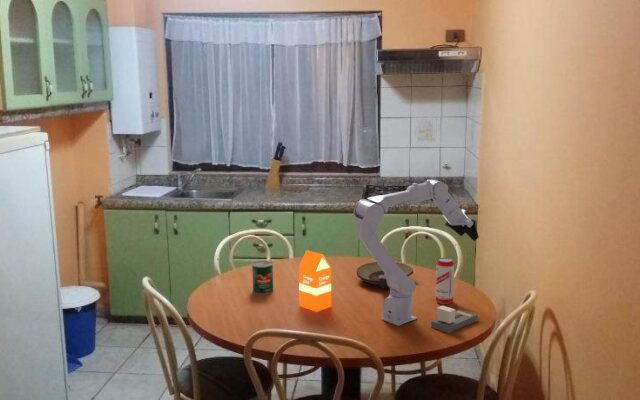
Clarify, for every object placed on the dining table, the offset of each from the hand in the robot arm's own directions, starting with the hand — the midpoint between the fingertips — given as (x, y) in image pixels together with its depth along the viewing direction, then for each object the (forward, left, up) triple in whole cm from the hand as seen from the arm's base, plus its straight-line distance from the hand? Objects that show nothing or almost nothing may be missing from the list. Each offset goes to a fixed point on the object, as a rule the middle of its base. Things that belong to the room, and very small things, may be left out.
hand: (469, 236), depth 217 cm
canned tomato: (-42, +64, -26) cm, 81 cm away
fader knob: (-20, -6, -24) cm, 32 cm away
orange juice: (-38, +38, -26) cm, 60 cm away
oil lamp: (-2, +39, -26) cm, 47 cm away
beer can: (-1, +9, -26) cm, 28 cm away
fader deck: (-15, -6, -26) cm, 31 cm away
